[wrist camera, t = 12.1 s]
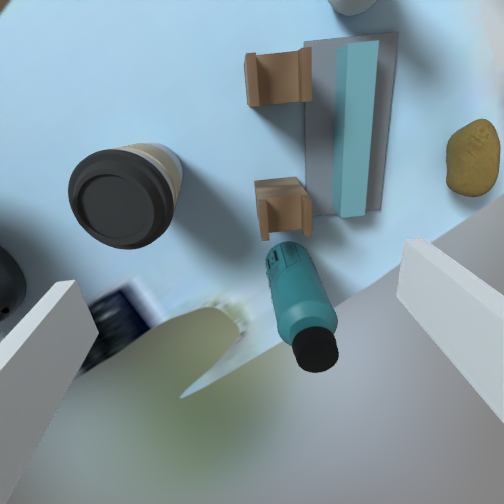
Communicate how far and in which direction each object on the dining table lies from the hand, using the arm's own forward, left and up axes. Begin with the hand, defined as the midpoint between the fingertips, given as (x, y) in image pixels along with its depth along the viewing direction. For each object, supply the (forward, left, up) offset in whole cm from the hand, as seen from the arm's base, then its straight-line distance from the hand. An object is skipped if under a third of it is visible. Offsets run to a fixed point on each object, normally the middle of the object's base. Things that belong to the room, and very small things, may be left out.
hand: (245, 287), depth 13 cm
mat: (+13, +1, -29) cm, 32 cm away
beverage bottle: (+5, -15, -29) cm, 33 cm away
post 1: (+4, +8, -29) cm, 31 cm away
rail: (+13, +1, -29) cm, 31 cm away
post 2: (+4, -5, -29) cm, 30 cm away
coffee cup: (-11, -1, -29) cm, 31 cm away
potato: (+27, -2, -29) cm, 40 cm away
